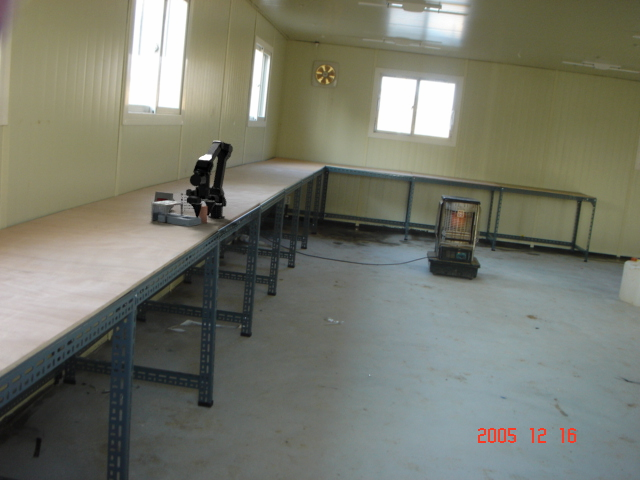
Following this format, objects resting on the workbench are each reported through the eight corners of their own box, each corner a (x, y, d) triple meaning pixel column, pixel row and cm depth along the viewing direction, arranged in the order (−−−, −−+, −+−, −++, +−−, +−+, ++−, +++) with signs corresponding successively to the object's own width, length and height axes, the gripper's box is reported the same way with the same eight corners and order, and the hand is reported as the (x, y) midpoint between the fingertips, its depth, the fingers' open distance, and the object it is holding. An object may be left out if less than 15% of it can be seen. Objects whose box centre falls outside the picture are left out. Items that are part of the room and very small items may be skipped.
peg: (201, 221, 291) (202, 205, 289) (208, 222, 289) (209, 206, 288) (196, 222, 287) (197, 206, 286) (203, 223, 286) (204, 207, 284)
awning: (168, 217, 294) (168, 200, 292) (183, 220, 290) (183, 202, 288) (150, 220, 283) (151, 202, 281) (166, 223, 279) (166, 204, 277)
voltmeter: (154, 211, 308) (154, 193, 306) (152, 208, 319) (152, 190, 317) (204, 212, 318) (205, 194, 316) (201, 209, 328) (201, 191, 326)
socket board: (171, 218, 291) (171, 212, 291) (201, 223, 284) (201, 217, 283) (158, 221, 282) (158, 215, 282) (187, 226, 275) (188, 220, 274)
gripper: (202, 182, 296) (200, 212, 299) (178, 183, 279) (177, 216, 282) (220, 184, 292) (218, 215, 294) (197, 186, 275) (195, 219, 278)
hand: (202, 216), depth 287 cm, fingers open, 8 cm apart
